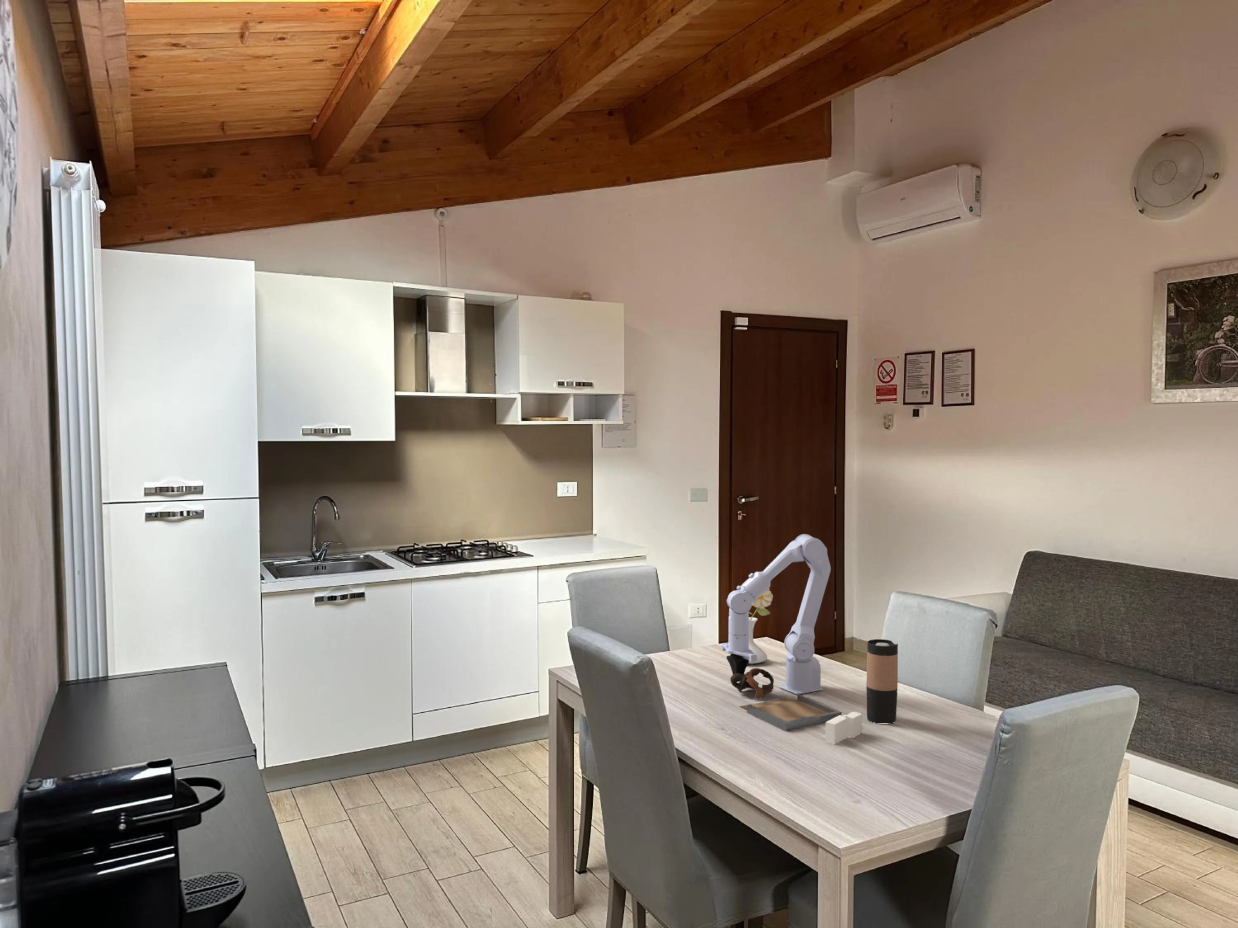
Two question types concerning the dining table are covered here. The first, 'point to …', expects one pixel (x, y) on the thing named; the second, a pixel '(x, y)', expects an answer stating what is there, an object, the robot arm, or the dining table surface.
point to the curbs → (797, 722)
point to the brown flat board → (787, 708)
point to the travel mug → (882, 680)
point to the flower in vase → (761, 604)
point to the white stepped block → (843, 727)
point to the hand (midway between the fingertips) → (738, 680)
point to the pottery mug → (753, 682)
